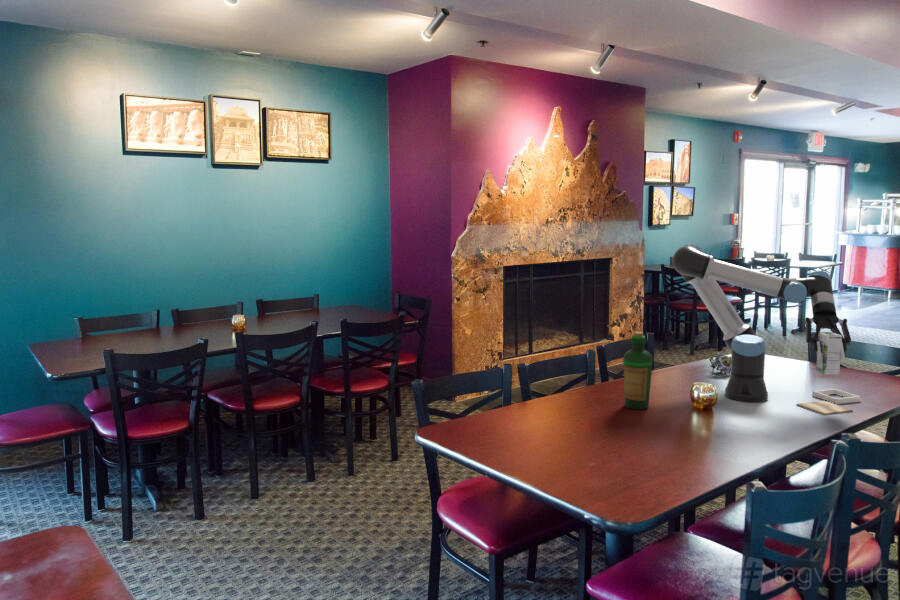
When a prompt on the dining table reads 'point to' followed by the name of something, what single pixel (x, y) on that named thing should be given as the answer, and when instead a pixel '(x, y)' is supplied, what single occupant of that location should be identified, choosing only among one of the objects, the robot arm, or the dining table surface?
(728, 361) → the passion flower
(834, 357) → the syrup box
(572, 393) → the dining table surface
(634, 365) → the bottle
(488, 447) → the dining table surface
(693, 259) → the robot arm
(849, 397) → the white square frame
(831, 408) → the mat
